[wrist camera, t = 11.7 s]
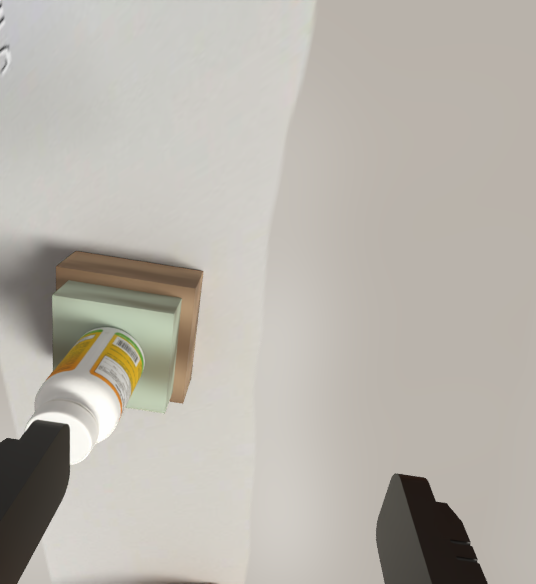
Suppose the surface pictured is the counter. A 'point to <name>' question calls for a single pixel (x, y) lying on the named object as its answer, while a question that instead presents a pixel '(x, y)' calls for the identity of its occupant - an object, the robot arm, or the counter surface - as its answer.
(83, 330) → the podium
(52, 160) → the counter surface
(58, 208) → the counter surface
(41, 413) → the supplement bottle
